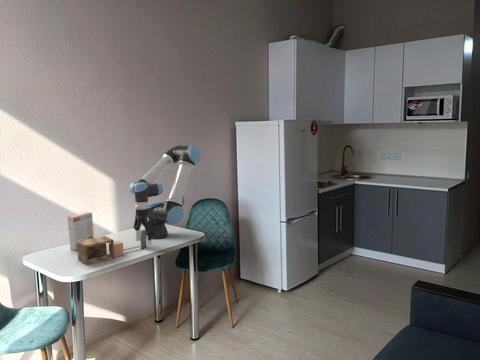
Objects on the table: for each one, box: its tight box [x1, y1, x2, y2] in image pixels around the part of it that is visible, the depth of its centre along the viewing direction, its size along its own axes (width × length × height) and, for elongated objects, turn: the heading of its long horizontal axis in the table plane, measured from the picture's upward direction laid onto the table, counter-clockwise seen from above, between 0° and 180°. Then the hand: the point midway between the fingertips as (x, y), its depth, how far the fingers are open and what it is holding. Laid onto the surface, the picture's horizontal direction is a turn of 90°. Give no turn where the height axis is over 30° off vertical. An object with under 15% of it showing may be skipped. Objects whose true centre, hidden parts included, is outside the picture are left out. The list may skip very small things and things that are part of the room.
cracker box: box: [67, 211, 95, 252], centre depth 258 cm, size 14×6×21 cm, turn 149°
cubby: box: [77, 235, 116, 266], centre depth 235 cm, size 16×11×11 cm
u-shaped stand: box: [108, 229, 148, 257], centre depth 248 cm, size 22×6×11 cm, turn 131°
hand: (143, 242), depth 255 cm, fingers open, 13 cm apart
